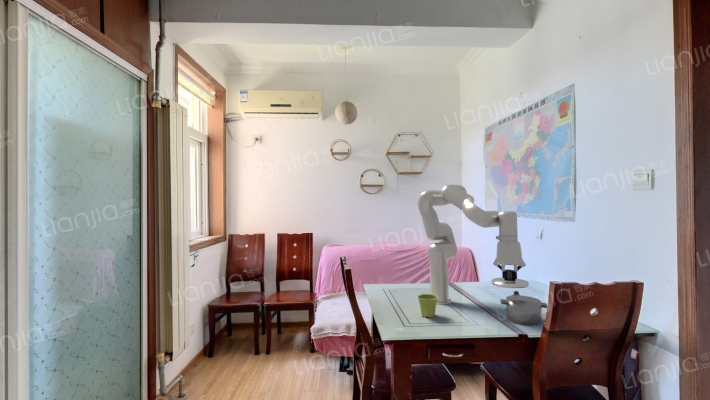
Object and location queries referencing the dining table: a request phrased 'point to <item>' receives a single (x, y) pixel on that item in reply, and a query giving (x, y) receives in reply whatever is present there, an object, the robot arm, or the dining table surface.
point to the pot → (523, 310)
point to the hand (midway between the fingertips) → (509, 279)
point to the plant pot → (427, 304)
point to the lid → (509, 281)
